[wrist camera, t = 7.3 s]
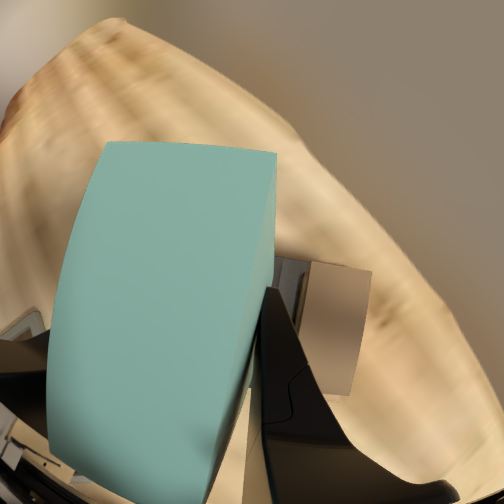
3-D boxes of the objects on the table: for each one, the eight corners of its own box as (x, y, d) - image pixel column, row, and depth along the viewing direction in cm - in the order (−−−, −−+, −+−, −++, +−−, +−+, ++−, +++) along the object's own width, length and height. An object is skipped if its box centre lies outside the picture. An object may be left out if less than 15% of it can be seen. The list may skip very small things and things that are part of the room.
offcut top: (344, 390, 16) (348, 395, 14) (285, 384, 16) (286, 389, 15) (365, 274, 17) (372, 271, 16) (308, 264, 18) (311, 260, 16)
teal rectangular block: (251, 378, 14) (196, 525, 2) (200, 365, 14) (49, 452, 3) (273, 275, 15) (276, 153, 4) (222, 265, 16) (107, 141, 4)
